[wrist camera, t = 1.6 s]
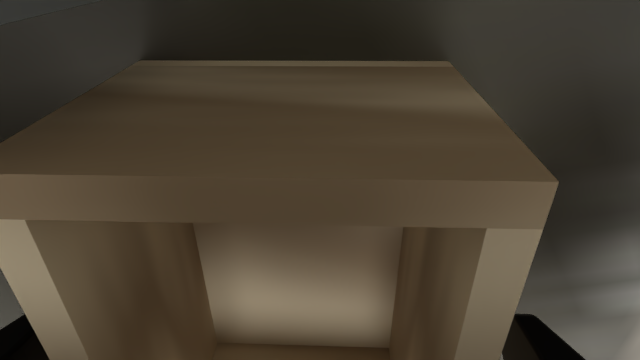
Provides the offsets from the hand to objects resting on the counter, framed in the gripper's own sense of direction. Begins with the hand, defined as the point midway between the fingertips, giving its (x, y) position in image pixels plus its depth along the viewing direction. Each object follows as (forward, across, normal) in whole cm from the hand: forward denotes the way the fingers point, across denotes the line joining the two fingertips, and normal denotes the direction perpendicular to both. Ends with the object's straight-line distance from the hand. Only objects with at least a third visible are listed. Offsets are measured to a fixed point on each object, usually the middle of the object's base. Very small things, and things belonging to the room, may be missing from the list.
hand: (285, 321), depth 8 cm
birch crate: (+3, 0, 0) cm, 3 cm away
